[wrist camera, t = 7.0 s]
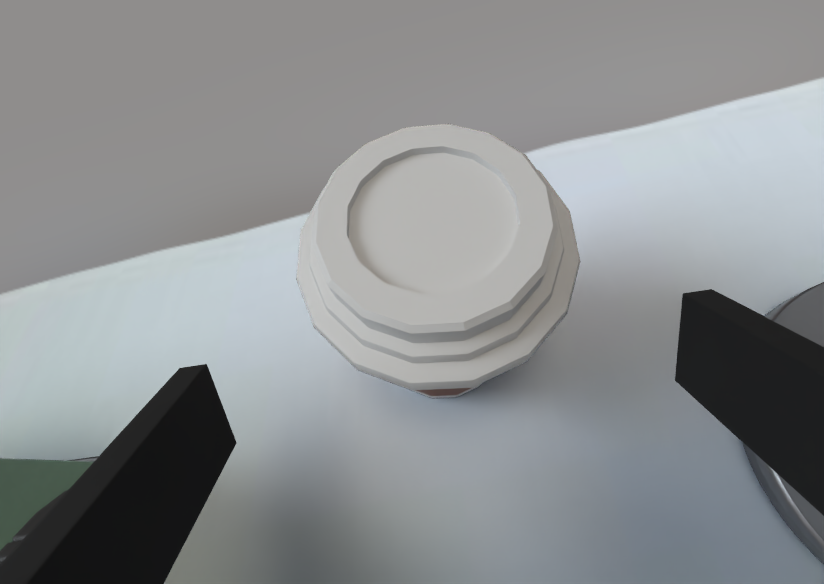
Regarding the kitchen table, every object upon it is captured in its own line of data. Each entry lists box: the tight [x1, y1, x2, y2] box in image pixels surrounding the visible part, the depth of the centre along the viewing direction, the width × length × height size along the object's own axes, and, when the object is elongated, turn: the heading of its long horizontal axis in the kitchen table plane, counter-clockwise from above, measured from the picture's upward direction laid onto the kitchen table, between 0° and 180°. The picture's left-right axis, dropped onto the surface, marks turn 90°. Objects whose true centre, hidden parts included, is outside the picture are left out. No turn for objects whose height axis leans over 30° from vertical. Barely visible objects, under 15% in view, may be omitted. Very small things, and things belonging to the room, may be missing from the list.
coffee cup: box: [296, 124, 580, 398], centre depth 17 cm, size 9×9×12 cm
